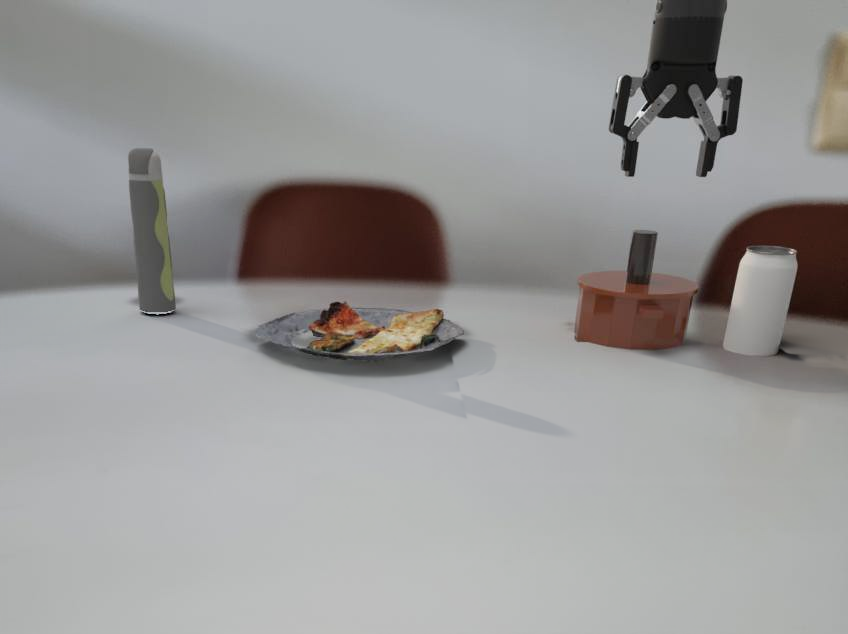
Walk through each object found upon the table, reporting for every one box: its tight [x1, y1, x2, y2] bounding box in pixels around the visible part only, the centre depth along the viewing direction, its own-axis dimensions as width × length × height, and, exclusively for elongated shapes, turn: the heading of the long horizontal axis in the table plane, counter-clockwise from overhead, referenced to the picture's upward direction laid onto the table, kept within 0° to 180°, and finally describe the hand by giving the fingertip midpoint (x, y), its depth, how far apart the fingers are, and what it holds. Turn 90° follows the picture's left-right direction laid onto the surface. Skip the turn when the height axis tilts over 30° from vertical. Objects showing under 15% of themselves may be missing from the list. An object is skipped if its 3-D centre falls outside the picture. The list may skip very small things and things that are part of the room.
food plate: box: [254, 300, 464, 364], centre depth 118 cm, size 25×23×4 cm
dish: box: [573, 287, 694, 351], centre depth 122 cm, size 14×19×6 cm
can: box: [722, 245, 799, 357], centre depth 116 cm, size 6×6×12 cm
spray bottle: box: [127, 147, 177, 312], centre depth 128 cm, size 5×5×20 cm
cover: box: [576, 229, 699, 300], centre depth 119 cm, size 15×15×7 cm
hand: (664, 176), depth 116 cm, fingers open, 8 cm apart
